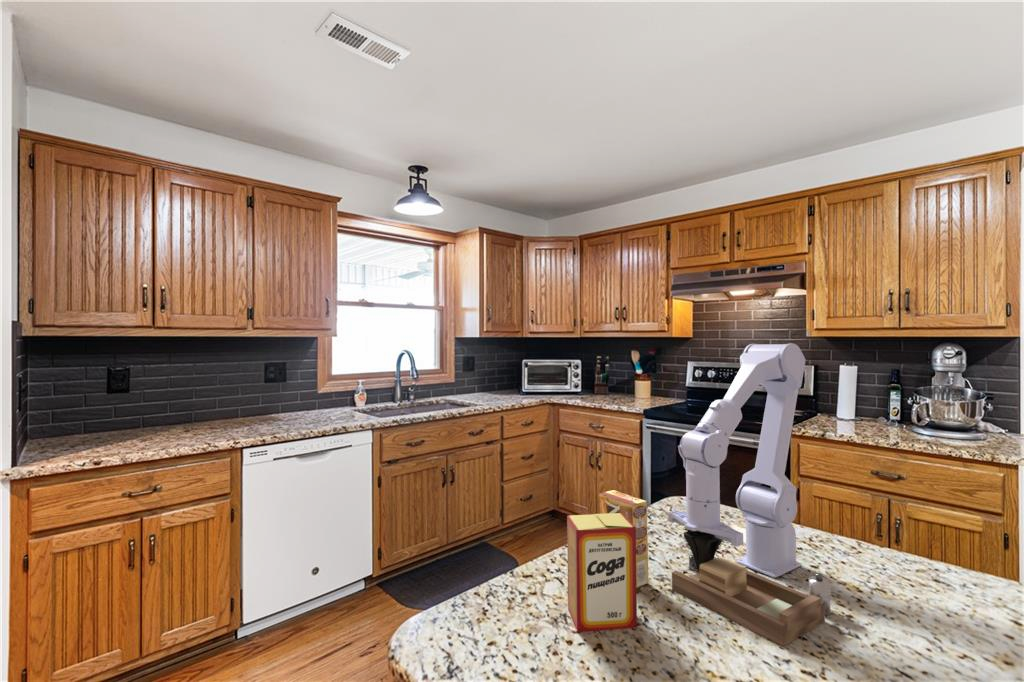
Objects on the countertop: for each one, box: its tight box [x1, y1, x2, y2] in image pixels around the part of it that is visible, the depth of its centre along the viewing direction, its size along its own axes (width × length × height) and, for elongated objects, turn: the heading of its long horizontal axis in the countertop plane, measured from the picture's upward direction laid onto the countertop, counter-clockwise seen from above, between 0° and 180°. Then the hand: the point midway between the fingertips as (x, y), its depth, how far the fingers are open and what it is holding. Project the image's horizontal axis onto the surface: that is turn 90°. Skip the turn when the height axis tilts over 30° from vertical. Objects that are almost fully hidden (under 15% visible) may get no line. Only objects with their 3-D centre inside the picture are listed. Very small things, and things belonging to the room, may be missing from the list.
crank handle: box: [688, 554, 697, 572], centre depth 98 cm, size 6×1×3 cm, turn 142°
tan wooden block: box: [699, 556, 748, 597], centre depth 86 cm, size 6×5×4 cm
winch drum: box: [808, 572, 831, 617], centre depth 81 cm, size 3×3×6 cm
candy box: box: [598, 489, 649, 589], centre depth 93 cm, size 9×4×15 cm, turn 33°
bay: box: [671, 556, 826, 647], centre depth 83 cm, size 12×20×4 cm, turn 32°
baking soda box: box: [566, 513, 638, 633], centre depth 79 cm, size 10×6×16 cm
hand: (703, 572), depth 89 cm, fingers closed
